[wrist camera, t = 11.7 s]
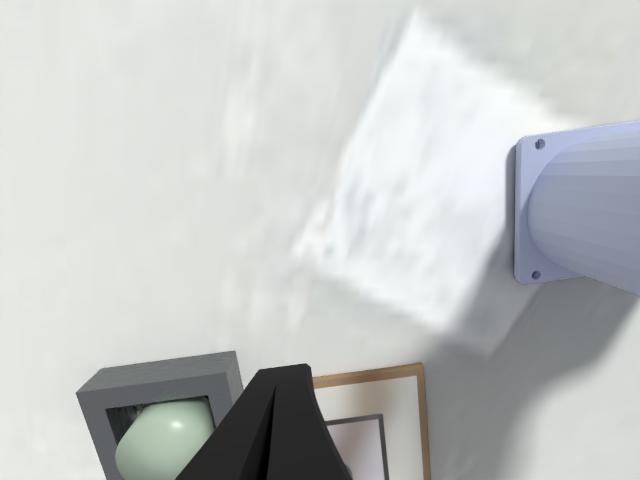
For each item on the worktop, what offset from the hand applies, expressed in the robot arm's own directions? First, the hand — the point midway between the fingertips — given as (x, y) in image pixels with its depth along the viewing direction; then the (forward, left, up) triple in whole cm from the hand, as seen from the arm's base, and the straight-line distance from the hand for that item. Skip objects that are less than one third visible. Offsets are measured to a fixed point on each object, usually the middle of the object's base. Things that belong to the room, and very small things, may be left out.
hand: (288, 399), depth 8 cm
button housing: (+9, +8, -9) cm, 15 cm away
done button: (+9, +8, -9) cm, 15 cm away
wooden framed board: (-2, +12, -9) cm, 15 cm away
